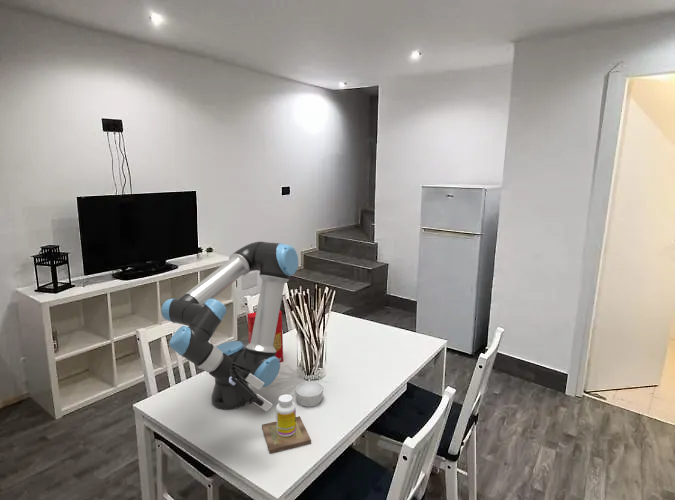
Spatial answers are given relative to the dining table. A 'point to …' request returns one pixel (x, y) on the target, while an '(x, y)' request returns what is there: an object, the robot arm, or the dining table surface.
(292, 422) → the supplement bottle
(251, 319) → the food packaging
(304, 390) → the ramekin
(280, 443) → the walnut plinth
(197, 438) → the dining table surface
